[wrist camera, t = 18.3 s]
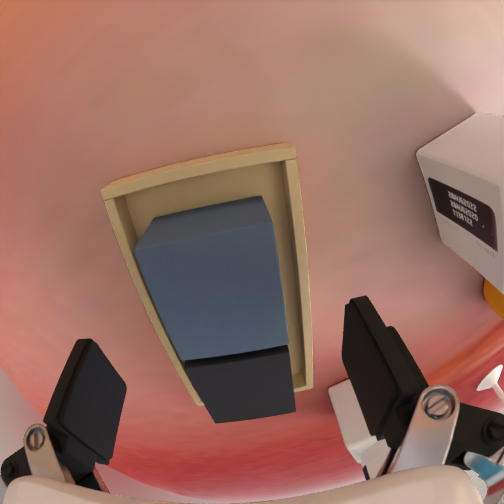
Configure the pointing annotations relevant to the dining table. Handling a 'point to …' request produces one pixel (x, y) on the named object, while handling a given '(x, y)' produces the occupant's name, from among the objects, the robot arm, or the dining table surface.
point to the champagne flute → (492, 382)
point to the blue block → (216, 278)
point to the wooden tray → (214, 192)
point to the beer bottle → (494, 298)
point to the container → (470, 191)
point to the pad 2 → (244, 384)
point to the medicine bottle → (357, 430)
